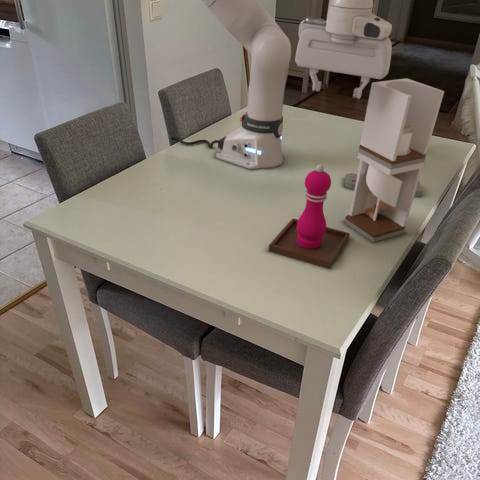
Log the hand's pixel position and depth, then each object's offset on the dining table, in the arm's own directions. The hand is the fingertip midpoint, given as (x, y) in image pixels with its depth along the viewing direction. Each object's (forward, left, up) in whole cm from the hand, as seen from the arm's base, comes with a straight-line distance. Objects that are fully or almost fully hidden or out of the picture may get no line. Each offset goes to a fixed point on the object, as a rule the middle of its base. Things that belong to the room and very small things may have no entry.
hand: (336, 94), depth 109 cm
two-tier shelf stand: (+14, +7, -33) cm, 36 cm away
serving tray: (+2, -10, -33) cm, 35 cm away
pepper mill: (+2, -10, -32) cm, 34 cm away
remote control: (+10, +34, -33) cm, 48 cm away
